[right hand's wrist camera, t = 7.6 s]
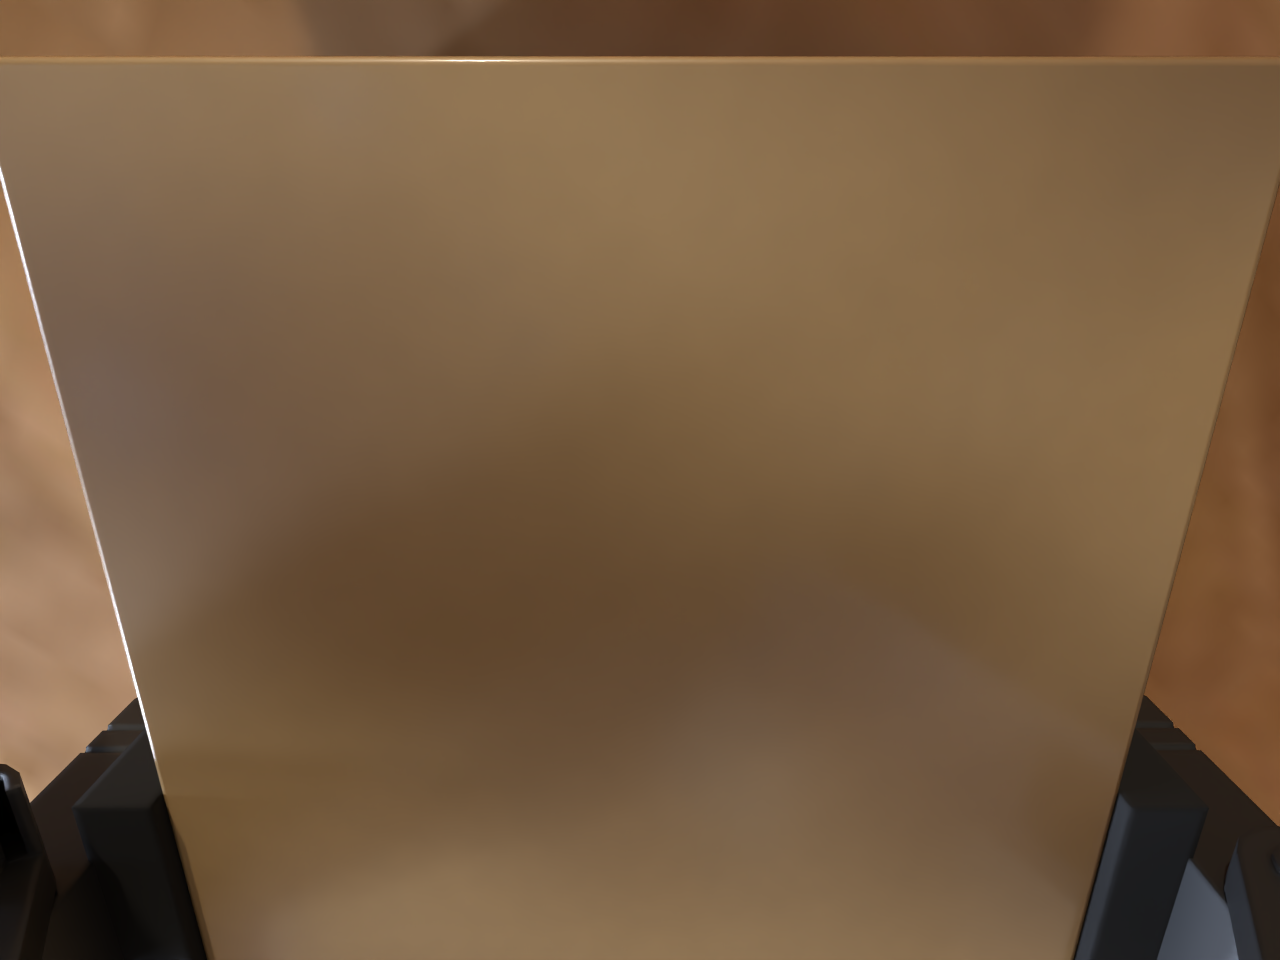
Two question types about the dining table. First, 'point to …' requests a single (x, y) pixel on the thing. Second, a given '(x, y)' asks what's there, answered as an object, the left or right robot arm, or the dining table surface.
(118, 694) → the dining table surface
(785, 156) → the long beam
